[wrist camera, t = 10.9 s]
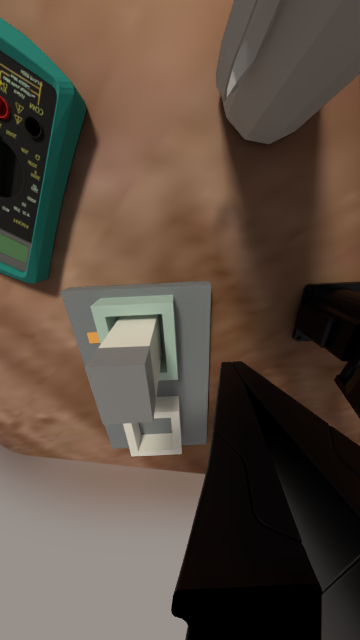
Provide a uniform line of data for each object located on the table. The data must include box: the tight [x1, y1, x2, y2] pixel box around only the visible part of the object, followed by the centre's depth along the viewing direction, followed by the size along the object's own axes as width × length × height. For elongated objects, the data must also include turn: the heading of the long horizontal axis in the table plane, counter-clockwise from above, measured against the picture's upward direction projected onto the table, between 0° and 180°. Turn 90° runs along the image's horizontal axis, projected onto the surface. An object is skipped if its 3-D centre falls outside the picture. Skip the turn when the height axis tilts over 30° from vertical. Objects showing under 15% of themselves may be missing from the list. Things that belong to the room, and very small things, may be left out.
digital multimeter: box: [0, 18, 86, 284], centre depth 13 cm, size 7×15×3 cm, turn 152°
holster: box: [123, 396, 182, 456], centre depth 23 cm, size 7×8×2 cm
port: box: [90, 295, 178, 381], centre depth 18 cm, size 7×8×2 cm
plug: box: [85, 314, 162, 424], centre depth 15 cm, size 4×5×8 cm
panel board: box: [61, 281, 211, 449], centre depth 22 cm, size 14×24×2 cm, turn 3°
